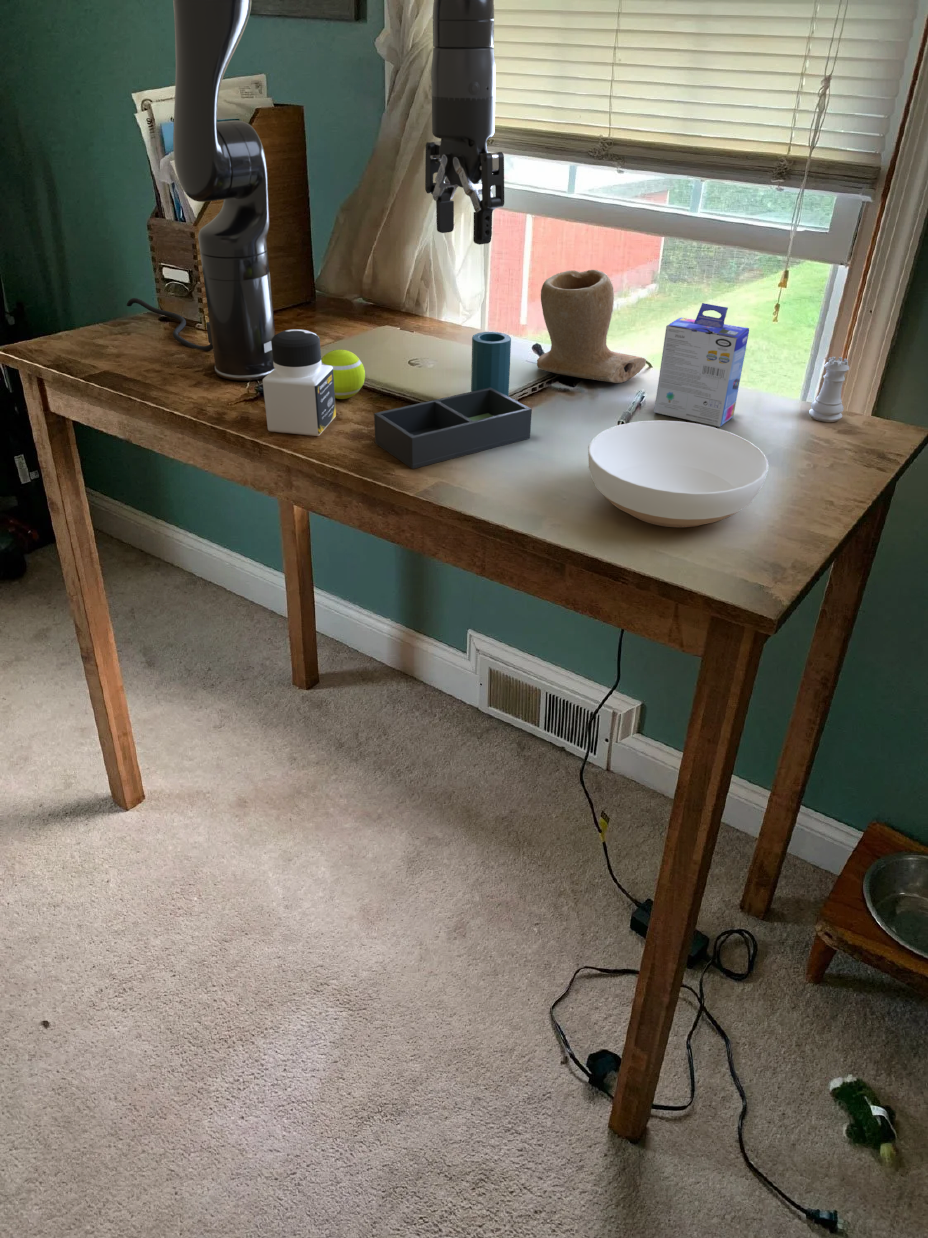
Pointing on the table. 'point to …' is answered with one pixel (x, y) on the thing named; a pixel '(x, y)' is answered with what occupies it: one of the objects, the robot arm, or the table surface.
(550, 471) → the table surface
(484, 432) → the divided tray
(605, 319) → the clay platform pipe
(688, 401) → the ink cartridge box
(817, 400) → the rook chess piece
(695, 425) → the bowl
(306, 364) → the medicine bottle
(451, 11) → the robot arm
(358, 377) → the tennis ball
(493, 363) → the jar
